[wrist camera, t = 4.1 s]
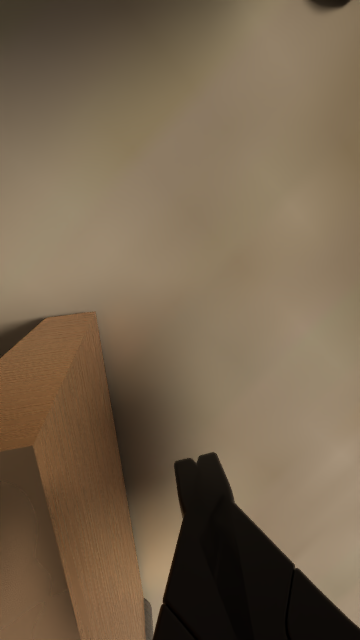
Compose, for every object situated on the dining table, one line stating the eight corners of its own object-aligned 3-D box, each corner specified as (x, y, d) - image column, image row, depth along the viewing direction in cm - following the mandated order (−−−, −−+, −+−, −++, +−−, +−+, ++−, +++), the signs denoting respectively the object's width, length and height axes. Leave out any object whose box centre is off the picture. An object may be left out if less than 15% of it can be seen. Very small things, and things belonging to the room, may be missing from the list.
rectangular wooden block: (154, 625, 11) (183, 1002, 5) (106, 638, 10) (88, 1045, 5) (103, 310, 8) (58, 441, 3) (37, 318, 8) (-160, 480, 2)
